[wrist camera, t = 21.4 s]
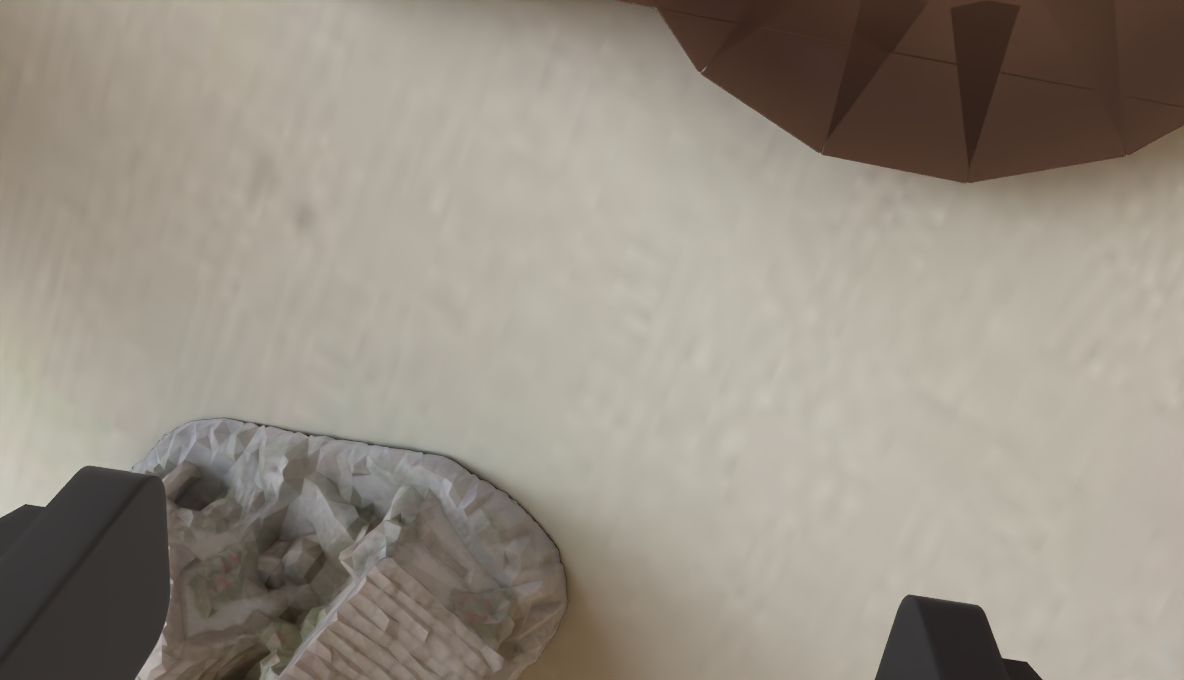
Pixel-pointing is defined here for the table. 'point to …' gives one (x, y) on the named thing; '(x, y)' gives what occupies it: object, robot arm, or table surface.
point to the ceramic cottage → (343, 563)
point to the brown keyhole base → (947, 77)
